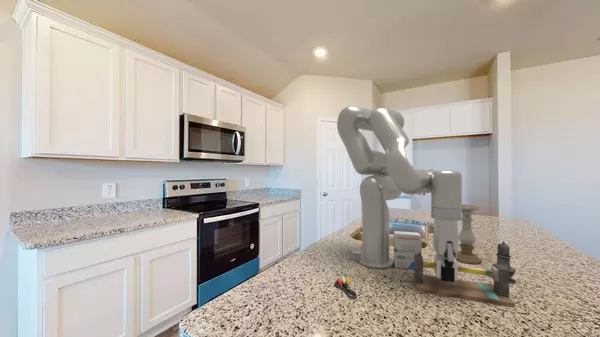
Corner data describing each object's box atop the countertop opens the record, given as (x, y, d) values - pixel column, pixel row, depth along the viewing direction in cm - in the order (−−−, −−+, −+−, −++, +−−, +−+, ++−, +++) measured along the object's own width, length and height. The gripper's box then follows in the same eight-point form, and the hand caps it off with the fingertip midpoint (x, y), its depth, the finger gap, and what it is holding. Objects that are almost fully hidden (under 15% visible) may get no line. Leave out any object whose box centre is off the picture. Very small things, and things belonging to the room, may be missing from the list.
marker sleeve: (437, 277, 69) (437, 259, 69) (434, 271, 73) (434, 254, 73) (457, 280, 67) (457, 262, 67) (453, 274, 71) (453, 257, 71)
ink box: (419, 265, 86) (419, 232, 86) (421, 270, 82) (421, 235, 82) (393, 262, 89) (393, 230, 89) (394, 267, 84) (394, 233, 84)
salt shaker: (520, 284, 72) (521, 244, 72) (498, 282, 73) (498, 242, 73) (508, 276, 78) (508, 238, 78) (487, 274, 79) (487, 237, 79)
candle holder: (455, 254, 98) (456, 203, 98) (482, 259, 92) (483, 206, 92) (450, 259, 92) (450, 205, 92) (479, 266, 86) (479, 208, 86)
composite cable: (359, 299, 64) (359, 290, 64) (341, 300, 63) (341, 291, 63) (347, 282, 74) (347, 274, 74) (332, 283, 73) (332, 274, 73)
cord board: (416, 291, 68) (416, 262, 68) (413, 276, 77) (413, 251, 77) (514, 307, 60) (514, 275, 60) (498, 288, 69) (498, 260, 69)
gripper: (427, 208, 79) (427, 264, 79) (436, 217, 63) (435, 288, 63) (454, 209, 76) (453, 267, 76) (470, 220, 61) (469, 293, 61)
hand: (445, 276), depth 70 cm, fingers closed on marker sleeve, 4 cm apart
